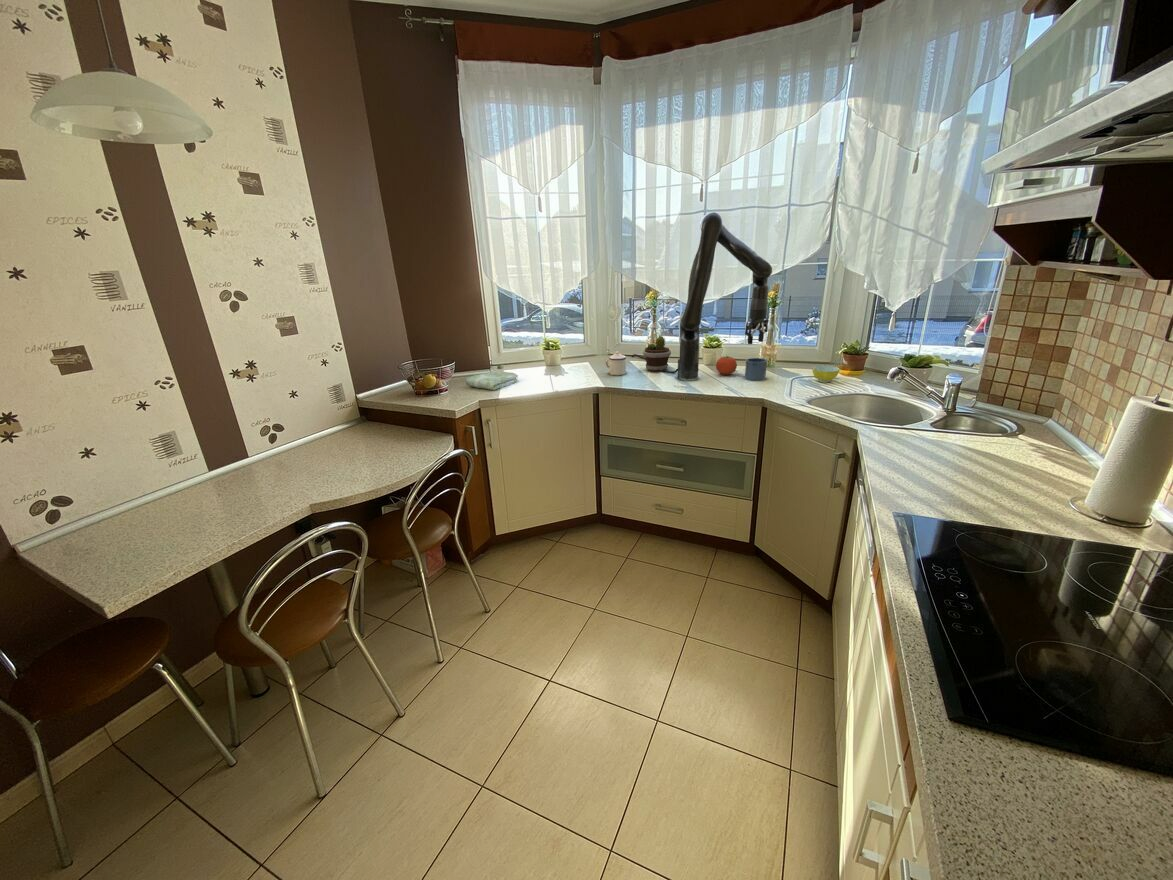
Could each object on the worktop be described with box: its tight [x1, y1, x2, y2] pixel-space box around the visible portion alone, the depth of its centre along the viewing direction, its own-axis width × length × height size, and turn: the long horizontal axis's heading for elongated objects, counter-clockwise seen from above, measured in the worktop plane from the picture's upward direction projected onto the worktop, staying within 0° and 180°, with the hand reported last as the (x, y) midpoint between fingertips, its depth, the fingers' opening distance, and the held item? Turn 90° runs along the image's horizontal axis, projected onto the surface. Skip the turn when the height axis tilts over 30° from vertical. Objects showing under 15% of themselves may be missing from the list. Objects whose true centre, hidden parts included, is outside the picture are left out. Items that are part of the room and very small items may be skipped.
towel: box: [465, 370, 519, 391], centre depth 244 cm, size 18×21×5 cm
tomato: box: [715, 355, 738, 376], centre depth 240 cm, size 10×10×10 cm
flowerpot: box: [642, 334, 672, 373], centre depth 254 cm, size 14×15×20 cm
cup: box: [744, 357, 768, 382], centre depth 231 cm, size 9×9×9 cm
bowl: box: [812, 365, 841, 383], centre depth 220 cm, size 11×12×6 cm
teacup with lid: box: [605, 351, 627, 376], centre depth 253 cm, size 12×9×12 cm
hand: (755, 342), depth 228 cm, fingers open, 8 cm apart
